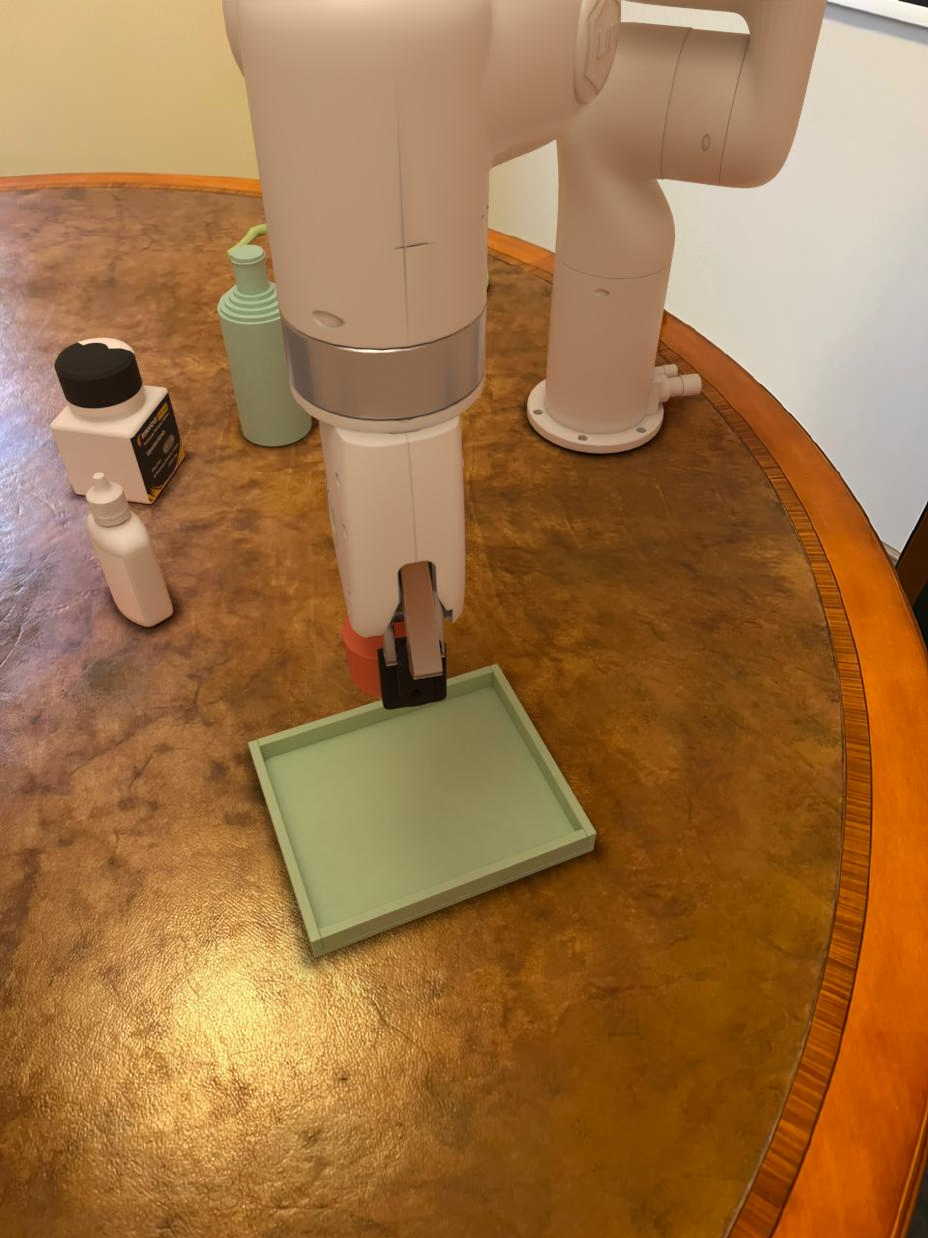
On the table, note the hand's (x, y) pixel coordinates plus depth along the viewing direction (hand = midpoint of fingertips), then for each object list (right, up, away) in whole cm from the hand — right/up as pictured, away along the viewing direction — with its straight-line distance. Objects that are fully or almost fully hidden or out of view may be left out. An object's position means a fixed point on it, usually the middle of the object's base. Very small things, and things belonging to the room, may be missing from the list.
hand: (406, 664), depth 48 cm
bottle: (-14, +20, +38) cm, 45 cm away
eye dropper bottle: (-21, +3, +22) cm, 30 cm away
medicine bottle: (-26, +15, +33) cm, 44 cm away
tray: (0, -9, +10) cm, 13 cm away
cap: (-1, 0, 0) cm, 1 cm away
